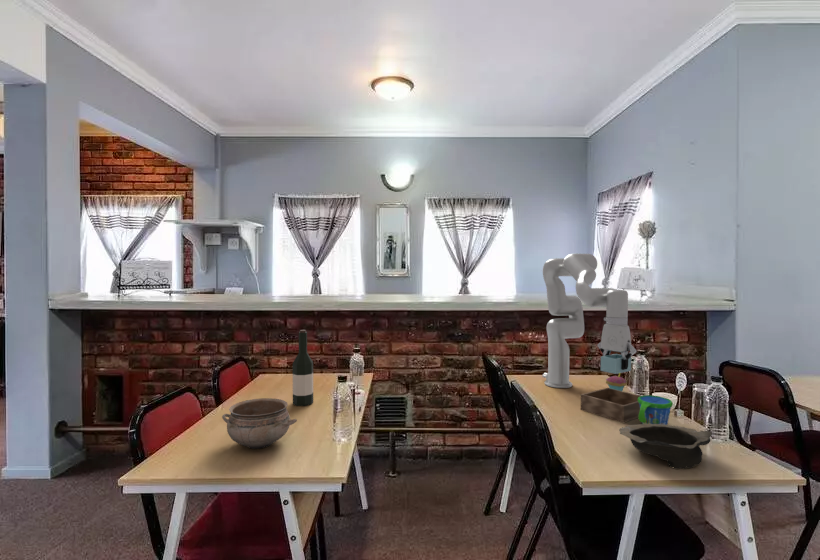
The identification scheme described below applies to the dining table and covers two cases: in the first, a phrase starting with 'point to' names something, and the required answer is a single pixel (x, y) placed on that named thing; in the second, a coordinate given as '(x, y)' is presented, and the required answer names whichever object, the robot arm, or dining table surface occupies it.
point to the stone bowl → (669, 442)
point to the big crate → (611, 404)
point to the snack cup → (654, 409)
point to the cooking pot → (258, 422)
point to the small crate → (613, 364)
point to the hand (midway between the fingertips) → (615, 367)
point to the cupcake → (616, 382)
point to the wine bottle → (302, 374)
